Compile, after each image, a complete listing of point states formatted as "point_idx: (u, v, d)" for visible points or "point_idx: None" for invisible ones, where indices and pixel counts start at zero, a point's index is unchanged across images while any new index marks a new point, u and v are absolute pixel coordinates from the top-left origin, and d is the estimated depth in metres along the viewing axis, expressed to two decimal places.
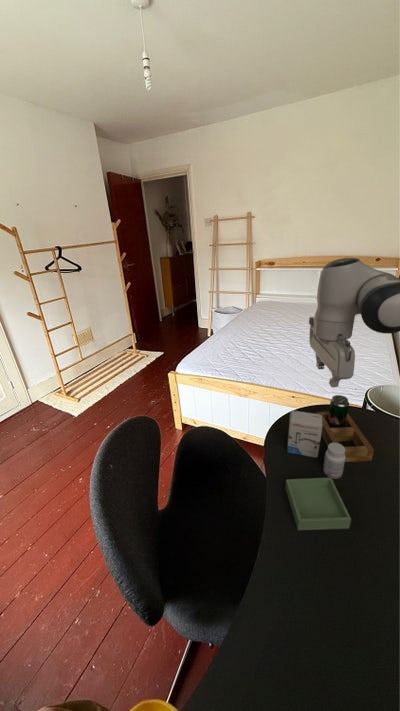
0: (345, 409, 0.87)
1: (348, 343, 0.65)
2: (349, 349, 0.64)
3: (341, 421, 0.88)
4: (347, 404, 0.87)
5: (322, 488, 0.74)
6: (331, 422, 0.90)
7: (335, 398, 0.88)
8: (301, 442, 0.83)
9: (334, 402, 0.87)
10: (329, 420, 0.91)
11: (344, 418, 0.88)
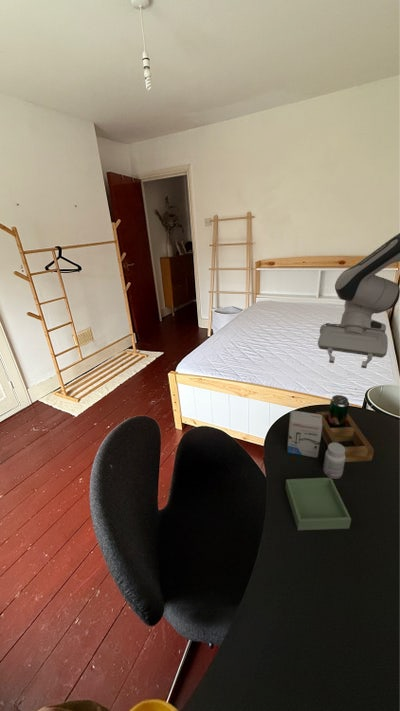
0: (345, 409, 0.87)
1: None
2: None
3: (341, 421, 0.88)
4: (347, 404, 0.87)
5: (322, 488, 0.74)
6: (331, 422, 0.90)
7: (335, 398, 0.88)
8: (301, 442, 0.83)
9: (334, 402, 0.87)
10: (329, 420, 0.91)
11: (344, 418, 0.88)
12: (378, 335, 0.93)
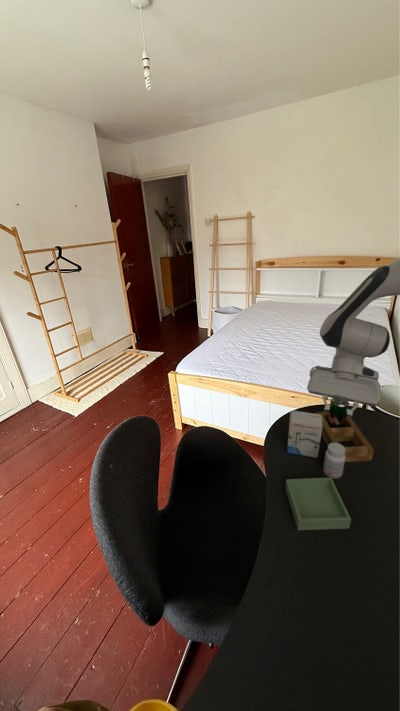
0: (345, 409, 0.87)
1: None
2: None
3: (341, 421, 0.88)
4: (347, 404, 0.87)
5: (322, 488, 0.74)
6: (332, 422, 0.90)
7: (335, 398, 0.88)
8: (301, 442, 0.83)
9: (334, 402, 0.87)
10: (329, 420, 0.91)
11: (344, 418, 0.88)
12: (370, 382, 0.87)
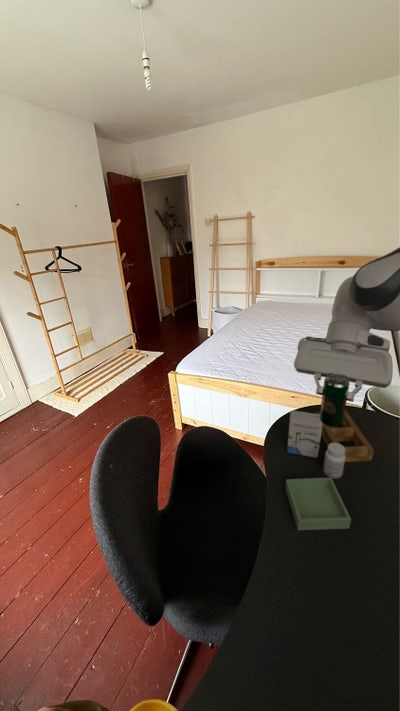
0: (343, 391, 0.63)
1: None
2: None
3: (339, 408, 0.65)
4: (347, 384, 0.63)
5: (322, 488, 0.74)
6: (326, 410, 0.67)
7: (330, 377, 0.65)
8: (301, 442, 0.83)
9: (329, 382, 0.64)
10: (322, 407, 0.68)
11: (343, 404, 0.65)
12: (378, 355, 0.64)
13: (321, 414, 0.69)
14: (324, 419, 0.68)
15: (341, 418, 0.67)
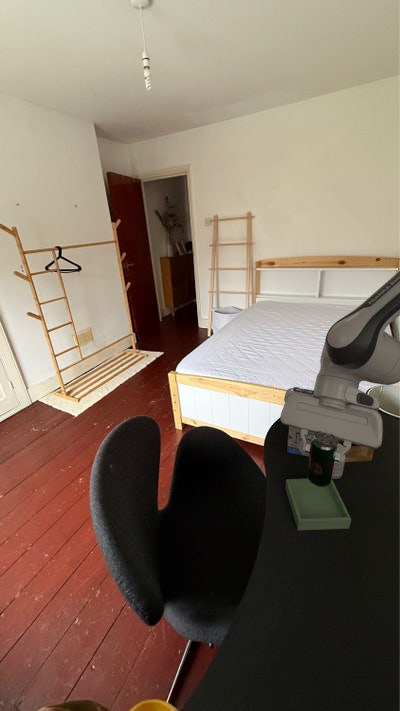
0: (331, 454, 0.60)
1: None
2: None
3: (326, 469, 0.62)
4: (334, 446, 0.60)
5: (322, 488, 0.74)
6: (313, 470, 0.63)
7: (318, 436, 0.62)
8: (301, 442, 0.83)
9: (316, 443, 0.61)
10: (310, 466, 0.64)
11: (330, 465, 0.61)
12: (367, 415, 0.60)
13: (308, 472, 0.65)
14: (311, 478, 0.65)
15: (329, 478, 0.63)
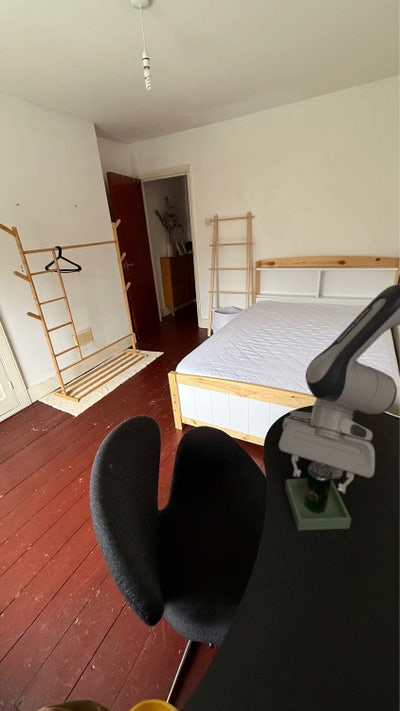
0: (326, 484, 0.64)
1: None
2: None
3: (322, 497, 0.65)
4: (329, 476, 0.64)
5: None
6: (309, 497, 0.67)
7: (313, 466, 0.65)
8: None
9: (312, 473, 0.64)
10: (306, 493, 0.68)
11: (326, 493, 0.65)
12: (361, 445, 0.64)
13: (305, 499, 0.69)
14: (308, 505, 0.68)
15: (324, 505, 0.67)
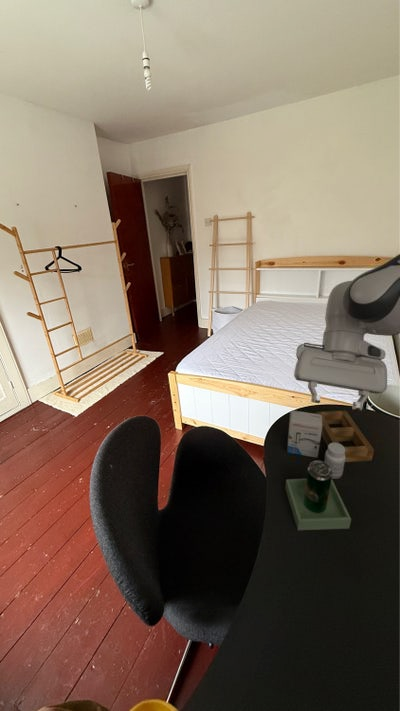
0: (326, 484, 0.64)
1: None
2: None
3: (322, 497, 0.65)
4: (329, 476, 0.64)
5: None
6: (309, 497, 0.67)
7: (313, 466, 0.65)
8: (301, 442, 0.83)
9: (312, 473, 0.64)
10: (306, 493, 0.68)
11: (326, 493, 0.65)
12: (375, 365, 0.68)
13: (305, 499, 0.69)
14: (308, 505, 0.68)
15: (324, 505, 0.67)
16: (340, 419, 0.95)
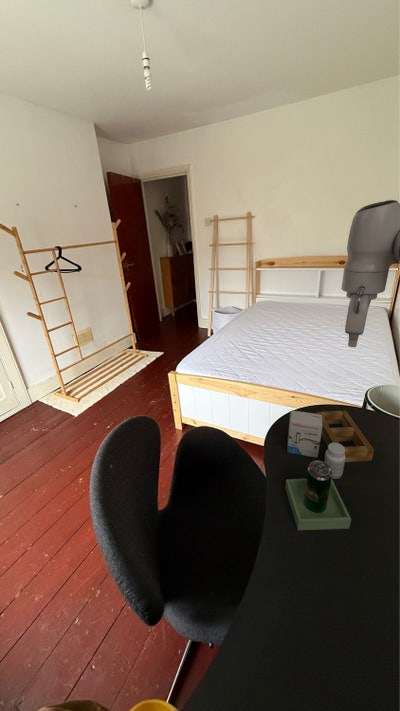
0: (326, 484, 0.64)
1: (360, 293, 0.60)
2: (358, 299, 0.60)
3: (322, 497, 0.65)
4: (329, 476, 0.64)
5: None
6: (309, 497, 0.67)
7: (313, 466, 0.65)
8: (301, 442, 0.83)
9: (312, 473, 0.64)
10: (306, 493, 0.68)
11: (326, 493, 0.65)
12: None
13: (305, 499, 0.69)
14: (308, 505, 0.68)
15: (324, 505, 0.67)
16: (340, 419, 0.95)
